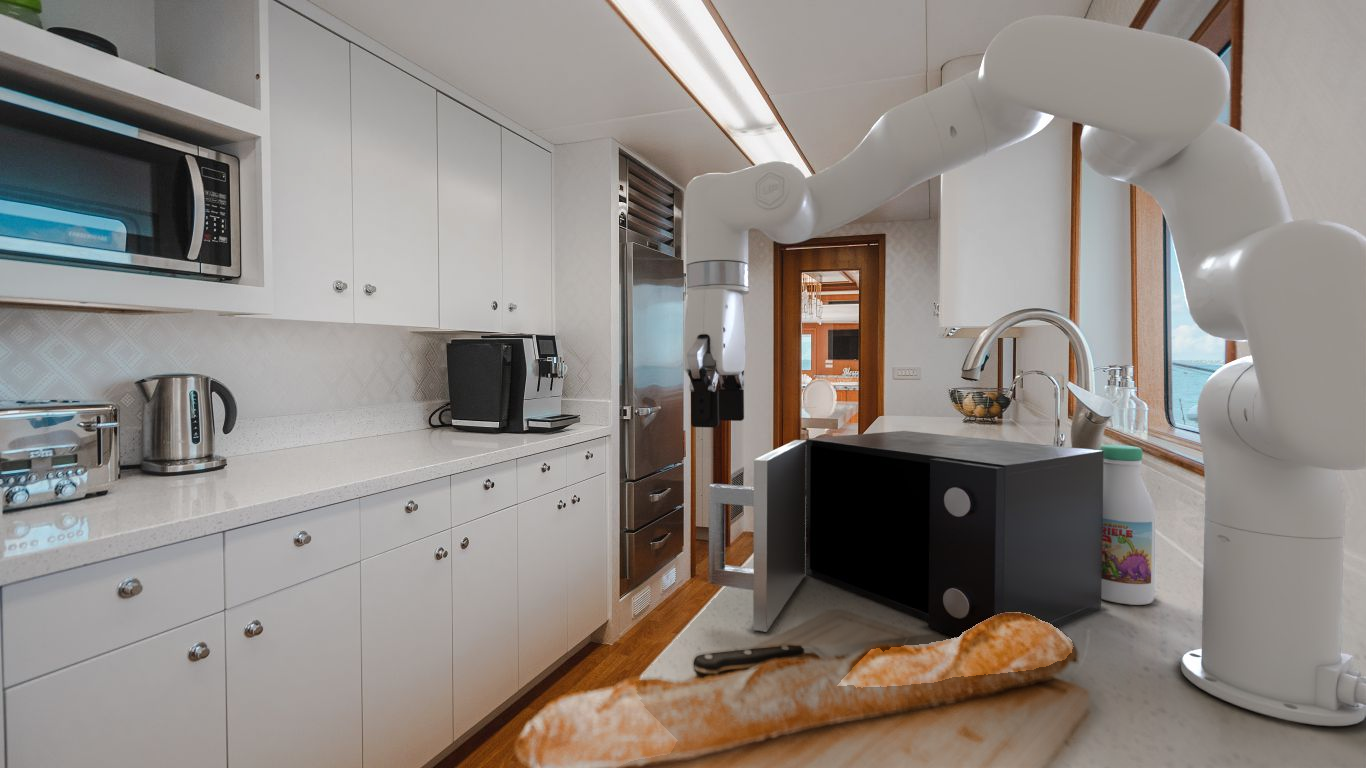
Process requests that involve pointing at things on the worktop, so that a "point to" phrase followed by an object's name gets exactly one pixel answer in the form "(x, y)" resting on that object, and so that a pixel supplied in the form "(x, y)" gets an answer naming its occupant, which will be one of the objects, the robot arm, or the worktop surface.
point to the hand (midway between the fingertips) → (719, 423)
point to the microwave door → (765, 531)
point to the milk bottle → (1127, 529)
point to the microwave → (957, 525)
